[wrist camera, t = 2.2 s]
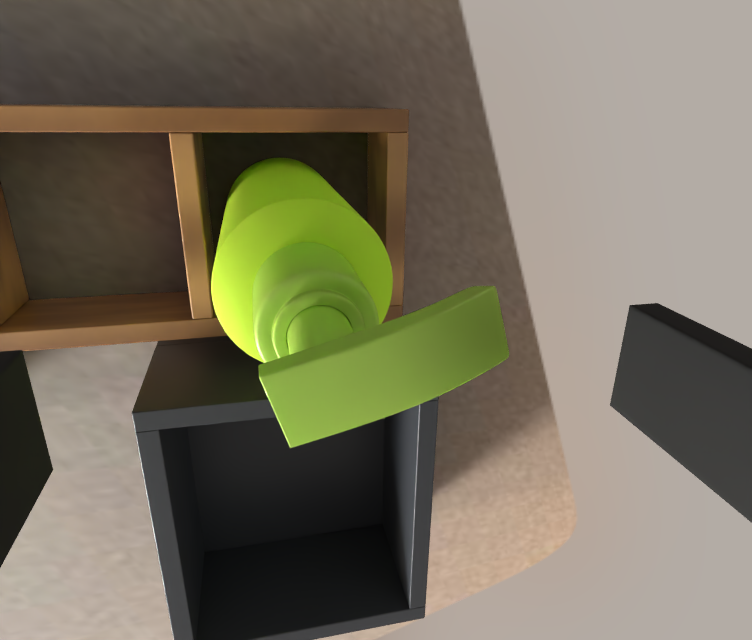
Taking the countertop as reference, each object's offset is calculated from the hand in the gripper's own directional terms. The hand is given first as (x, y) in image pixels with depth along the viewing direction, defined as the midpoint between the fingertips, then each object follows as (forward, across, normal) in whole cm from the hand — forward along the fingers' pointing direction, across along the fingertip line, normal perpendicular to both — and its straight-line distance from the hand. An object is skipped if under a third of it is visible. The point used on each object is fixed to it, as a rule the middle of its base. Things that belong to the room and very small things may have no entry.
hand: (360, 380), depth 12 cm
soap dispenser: (+20, 0, 0) cm, 20 cm away
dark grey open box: (+20, -1, -15) cm, 24 cm away
